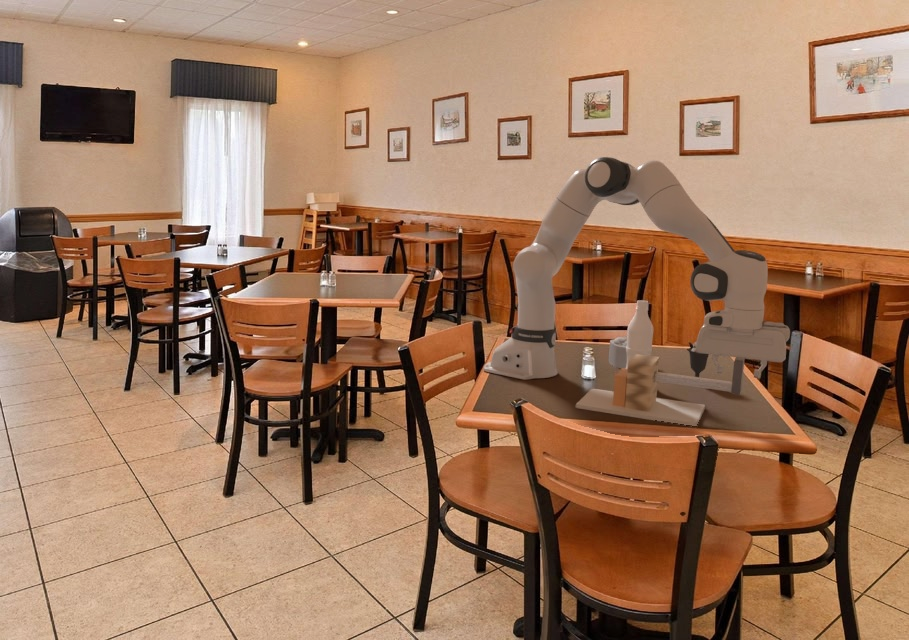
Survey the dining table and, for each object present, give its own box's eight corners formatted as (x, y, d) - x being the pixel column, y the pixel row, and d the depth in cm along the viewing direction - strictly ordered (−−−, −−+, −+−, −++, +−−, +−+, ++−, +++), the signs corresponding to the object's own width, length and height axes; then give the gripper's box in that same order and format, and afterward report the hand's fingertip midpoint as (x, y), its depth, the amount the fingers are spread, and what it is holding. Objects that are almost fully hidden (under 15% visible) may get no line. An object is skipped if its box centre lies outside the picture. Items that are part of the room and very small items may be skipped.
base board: (575, 407, 184) (575, 404, 183) (591, 391, 198) (592, 388, 198) (696, 427, 171) (697, 423, 171) (704, 408, 185) (705, 404, 185)
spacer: (612, 405, 183) (614, 375, 182) (620, 396, 190) (622, 368, 189) (624, 406, 182) (626, 376, 180) (631, 398, 189) (633, 369, 187)
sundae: (713, 386, 205) (718, 335, 202) (693, 387, 203) (697, 336, 200) (699, 380, 212) (704, 330, 209) (680, 381, 210) (684, 331, 207)
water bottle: (641, 392, 198) (648, 304, 193) (618, 386, 203) (624, 300, 198) (653, 386, 204) (660, 301, 199) (631, 381, 208) (636, 297, 203)
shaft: (639, 380, 181) (641, 350, 179) (643, 376, 185) (645, 346, 184) (739, 394, 171) (743, 362, 169) (741, 389, 175) (744, 357, 173)
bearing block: (624, 408, 181) (628, 362, 179) (633, 397, 190) (636, 354, 187) (648, 411, 178) (652, 365, 176) (656, 401, 187) (659, 357, 185)
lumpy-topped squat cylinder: (635, 360, 234) (637, 334, 232) (651, 370, 221) (653, 343, 220) (605, 360, 232) (606, 334, 231) (619, 371, 220) (621, 344, 218)
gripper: (791, 321, 168) (784, 377, 171) (700, 313, 177) (696, 366, 179) (790, 326, 162) (784, 384, 165) (697, 317, 171) (692, 372, 174)
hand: (737, 375), depth 172 cm, fingers open, 7 cm apart
